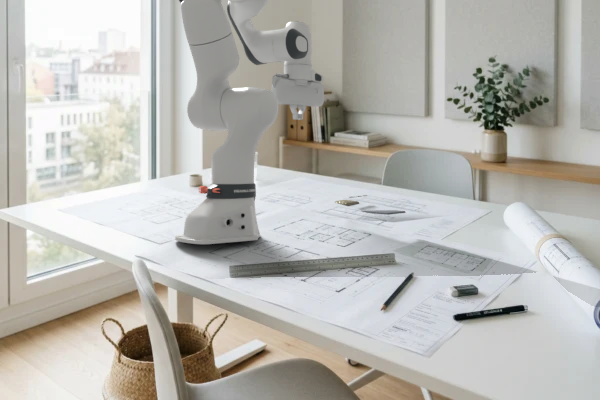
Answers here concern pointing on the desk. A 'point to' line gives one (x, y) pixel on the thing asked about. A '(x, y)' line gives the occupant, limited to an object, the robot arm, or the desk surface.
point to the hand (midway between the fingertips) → (297, 119)
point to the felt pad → (384, 211)
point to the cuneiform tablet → (348, 201)
